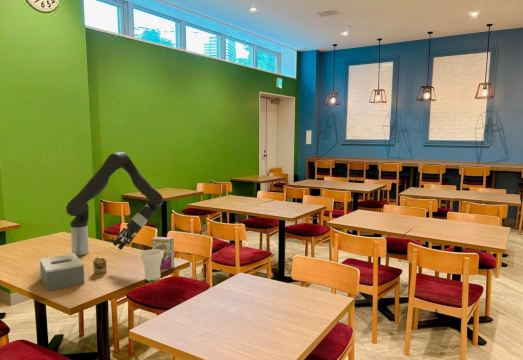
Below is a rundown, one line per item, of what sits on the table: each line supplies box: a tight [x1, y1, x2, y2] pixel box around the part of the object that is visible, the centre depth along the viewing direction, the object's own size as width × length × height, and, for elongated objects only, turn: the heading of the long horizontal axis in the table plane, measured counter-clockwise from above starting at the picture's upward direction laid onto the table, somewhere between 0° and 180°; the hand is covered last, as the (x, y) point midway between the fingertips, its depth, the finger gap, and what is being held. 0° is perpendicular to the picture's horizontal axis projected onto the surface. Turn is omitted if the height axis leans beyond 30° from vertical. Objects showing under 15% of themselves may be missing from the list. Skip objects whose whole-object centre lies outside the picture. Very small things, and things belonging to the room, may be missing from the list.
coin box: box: [39, 253, 85, 292], centre depth 191 cm, size 20×16×10 cm
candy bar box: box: [151, 236, 175, 269], centre depth 211 cm, size 11×5×16 cm, turn 84°
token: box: [92, 256, 107, 276], centre depth 202 cm, size 2×6×8 cm, turn 127°
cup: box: [140, 248, 164, 283], centre depth 193 cm, size 11×11×14 cm
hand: (116, 246), depth 206 cm, fingers open, 8 cm apart
